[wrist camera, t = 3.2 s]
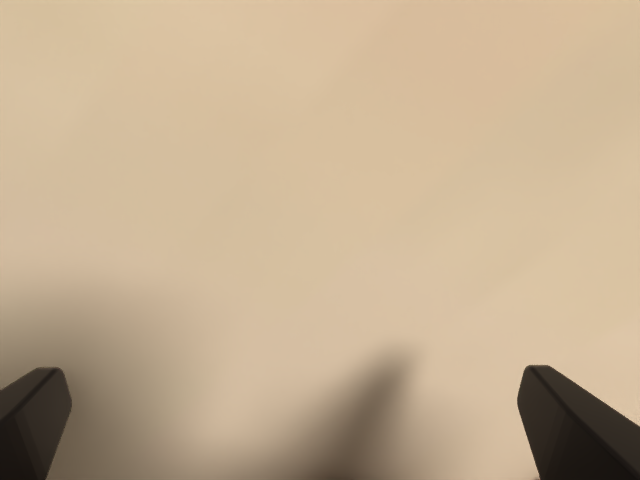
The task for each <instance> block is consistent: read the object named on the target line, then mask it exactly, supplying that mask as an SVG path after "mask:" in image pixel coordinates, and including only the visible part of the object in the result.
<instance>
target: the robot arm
mask: <svg viewBox="0 0 640 480" xmlns="http://www.w3.org/2000/svg"><path fill="white" fill-rule="evenodd" d="M517 404H518V409H519V413H520V416H521V419H522V422H523V425H524V428H525V432H526V435H527V438H528V441H529V444H530V448H531V451H532V454H533V457H534V460H535V463H536V467H537V470H538V473H539V476H540V479H541V480H640V426H638V425H637V424H635V423H634V422H632V421H631V420H629V419H628V418H626V417H625V416H623V415H622V414H620V413H619V412H617V411H616V410H614V409H613V408H611V407H610V406H608V405H607V404H606V403H604V402H603V401H601V400H600V399H598V398H597V397H595V396H594V395H592V394H591V393H589V392H588V391H586V390H585V389H583V388H582V387H580V386H579V385H577V384H576V383H574V382H573V381H571V380H570V379H568V378H567V377H566V376H564V375H563V374H561V373H560V372H558V371H557V370H555V369H554V368H552V367H550V366H548V365H529V366H527V367H526V368H525V370H524V373H523V377H522V381H521V384H520V388H519V392H518V397H517ZM71 406H72V400H71V396H70V392H69V389H68V386H67V382H66V379H65V375H64V373H63V371H62V370H61V369H60V368H58V367H40V368H36V369H34V370H33V371H31V372H29V373H28V374H26V375H25V376H23V377H21V378H20V379H18V380H16V381H15V382H13V383H12V384H10V385H8V386H7V387H5V388H4V389H2V390H0V480H46V477H47V475H48V472H49V469H50V466H51V464H52V461H53V458H54V455H55V453H56V450H57V447H58V444H59V442H60V439H61V436H62V433H63V431H64V428H65V425H66V422H67V420H68V417H69V414H70V411H71Z"/></svg>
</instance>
